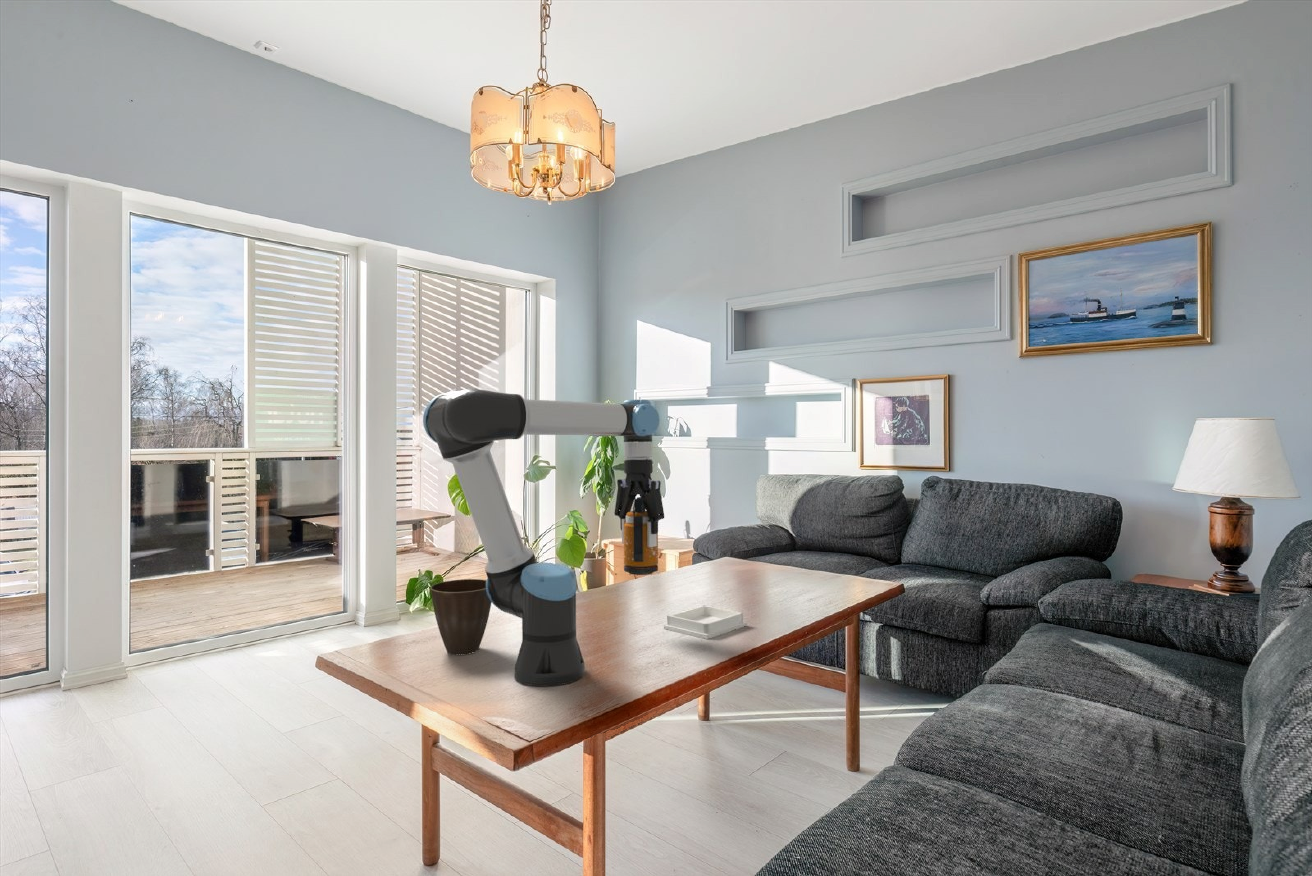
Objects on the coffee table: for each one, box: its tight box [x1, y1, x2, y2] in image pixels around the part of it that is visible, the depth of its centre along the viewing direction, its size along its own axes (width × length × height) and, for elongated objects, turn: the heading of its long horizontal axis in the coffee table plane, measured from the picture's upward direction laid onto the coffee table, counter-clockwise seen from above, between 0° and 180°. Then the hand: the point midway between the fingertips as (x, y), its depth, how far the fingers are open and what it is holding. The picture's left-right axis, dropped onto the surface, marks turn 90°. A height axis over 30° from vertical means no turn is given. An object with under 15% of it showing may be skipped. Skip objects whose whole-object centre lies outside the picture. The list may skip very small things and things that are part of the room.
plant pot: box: [430, 578, 492, 656], centre depth 173 cm, size 15×15×16 cm
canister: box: [623, 496, 659, 576], centre depth 186 cm, size 9×11×20 cm
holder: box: [663, 604, 748, 640], centre depth 191 cm, size 17×15×4 cm
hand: (639, 544), depth 186 cm, fingers closed on canister, 9 cm apart
